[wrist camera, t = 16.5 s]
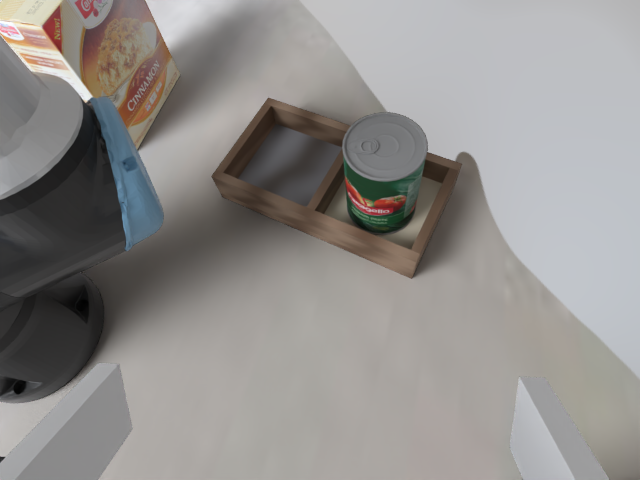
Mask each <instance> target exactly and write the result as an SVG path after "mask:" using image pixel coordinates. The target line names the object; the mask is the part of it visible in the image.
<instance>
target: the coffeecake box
mask: <svg viewBox="0 0 640 480" xmlns="http://www.w3.org/2000/svg"><path fill="white" fill-rule="evenodd" d="M0 34H1V35H2V36H3V38H4V39H5V40H6V41H7V42H8V43H9V45H10V46H11V47H12V48H13V49H14V51H15V52H16V53H17V54H18V55H19V56H20V58H21V59H22V60H23V61H24V62H25V63H26V65H27V66H28V67H29V68H30V69H31V71H32V72H40V73H47V74H51V75H55V76H57V77H60V78H62V79H64V80H65V81H67V82H68V83H69V84H70V85H71V86H72V87H73V88H74V89H75V90H76V91H77V92H78V94H79V95H80V97H81V98H82V99H83V100H84V102H85V103H86V102H87V101H88V100H89V99H90V98H92V97H95V98H99V97H107V98H109V99H110V100H111V101H112V103H113V104H114V105H115V107H116V108H117V110H118V112H119V114H120V116H121V118H122V120H123V122H124V124H125V126H126V128H127V130H128V132H129V134H130V136H131V138H132V140H133V143H134V145H135V147H136V149H138V148H139V146H140V144H141V142H142V141H143V139H144V137H145V135H146V134H147V132H148V130H149V128H150V127H151V125H152V123H153V121H154V120H155V118H156V116H157V114H158V113H159V111H160V109H161V108H162V106H163V104H164V102H165V101H166V99H167V97H168V95H169V94H170V92H171V90H172V88H173V87H174V85H175V83H176V81H177V80H178V78H179V76H180V73H179V71H178V69H177V67H176V65H175V63H174V60H173V58H172V56H171V54H170V52H169V50H168V48H167V46H166V44H165V42H164V40H163V37H162V35H161V33H160V31H159V29H158V27H157V25H156V23H155V20H154V18H153V16H152V14H151V12H150V10H149V8H148V6H147V3H146V1H145V0H2V1H1V2H0Z"/></svg>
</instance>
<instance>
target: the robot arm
mask: <svg viewBox="0 0 640 480" xmlns="http://www.w3.org/2000/svg"><path fill="white" fill-rule="evenodd" d="M163 219H164V215H163V209H162V206H161V204H160V201H159V199H158V196H157V194H156V191H155V189H154V187H153V184H152V182H151V180H150V177H149V175H148V173H147V171H146V168H145V166H144V164H143V162H142V160H141V157H140V155H139V153H138V151H137V149H136V147H135V145H134V143H133V140H132V138H131V136H130V134H129V132H128V130H127V128H126V126H125V124H124V122H123V120H122V118H121V116H120V114H119V112H118V110H117V108H116V107H115V105H114V104H113V103H112V101H111V100H110V99H109V98H107V97H99V98H95V97H92V98H90V99H89V100H88V101H87V102H86V103H85V102H84V100H83V99H82V98H81V97H80V95H79V94H78V92H77V91H76V90H75V89H74V88H73V87H72V86H71V85H70V84H69V83H68V82H67V81H65V80H64V79H62V78H60V77H57V76H55V75H51V74H47V73H40V72H31V71H30V70H29V69H28V68H27V67H26V65H25V64H24V63H23V62H22V61H21V60H20V58H19V57H18V56H17V55H16V54H15V52H14V51H13V50H12V49H11V48H10V47H9V45H8V44H7V43H6V42H5V41H4V39H3V38H2V37H1V36H0V402H6V403H24V402H30V401H34V400H37V399H40V398H42V397H45V396H47V395H49V394H51V393H53V392H55V391H56V390H58V389H59V388H61V387H62V386H64V385H65V384H66V383H67V382H69V381H70V380H71V379H72V378H73V377H74V376H75V375H76V374H77V373H78V372H79V371H80V370H81V369H82V368H83V366H84V365H85V364H86V362H87V361H88V359H89V358H90V356H91V355H92V353H93V351H94V349H95V347H96V345H97V343H98V340H99V338H100V334H101V331H102V326H103V318H104V311H103V303H102V299H101V296H100V293H99V291H98V289H97V288H96V286H95V285H94V283H93V282H92V281H91V280H90V279H89V278H88V277H86V276H85V275H83V274H82V273H80V272H82V271H84V270H86V269H88V268H90V267H92V266H95V265H97V264H99V263H101V262H103V261H105V260H107V259H109V258H111V257H114V256H116V255H118V254H120V253H122V252H124V251H128V250H130V249H131V248H132V246H133V245H135V244H137V243H138V242H140V241H142V240H144V239H145V238H147V237H149V236H151V235H152V234H154V233H156V232H157V231H158V230H159V228H160V227H161V225H162V223H163ZM132 429H133V428H132V423H131V418H130V414H129V409H128V404H127V399H126V394H125V390H124V385H123V380H122V375H121V370H120V366H119V364H113V363H97V364H96V365H95V367H94V368H93V369H92V370H91V371H90V372H89V373H88V374H87V375H86V376H85V377H84V378H83V379H82V380H81V381H80V382H79V383H78V384H77V385H76V386H75V387H74V388H73V389H72V390H71V391H70V392H69V393H68V394H67V395H66V396H65V397H64V398H63V399H62V400H61V401H60V402H59V403H58V404H57V405H56V406H55V407H54V408H53V409H52V410H51V411H50V412H49V413H48V414H47V416H46V417H45V418H44V419H43V420H42V421H41V422H40V423H39V424H38V425H37V426H36V427H35V428H34V429H33V430H32V431H31V432H30V433H29V434H28V435H27V436H26V437H25V438H24V439H23V440H22V441H21V442H20V443H19V444H18V445H17V446H16V447H15V448H14V449H13V450H12V451H11V452H10V453H9V454H8V455H7V456H6V457H0V480H98V479H99V477H100V476H101V474H102V473H103V472H104V470H105V469H106V467H107V466H108V464H109V463H110V461H111V460H112V458H113V457H114V455H115V454H116V453H117V451H118V450H119V448H120V447H121V445H122V444H123V442H124V441H125V439H126V438H127V437H128V435H129V434H130V432H131V431H132ZM510 449H511V451H512V454H513V456H514V459H515V461H516V464H517V466H518V469H519V471H520V474H521V476H522V478H523V480H610V479H609V478H608V476H607V475H606V473H605V472H604V470H603V468H602V467H601V465H600V464H599V462H598V460H597V459H596V457H595V456H594V454H593V453H592V451H591V449H590V448H589V446H588V445H587V443H586V441H585V440H584V438H583V437H582V435H581V433H580V432H579V430H578V429H577V427H576V426H575V424H574V422H573V421H572V419H571V418H570V416H569V414H568V413H567V411H566V410H565V408H564V407H563V405H562V403H561V402H560V400H559V399H558V397H557V395H556V394H555V392H554V391H553V389H552V388H551V386H550V384H549V383H548V381H547V380H546V378H545V377H519V383H518V390H517V397H516V405H515V412H514V419H513V426H512V434H511V441H510Z"/></svg>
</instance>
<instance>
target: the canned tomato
mask: <svg viewBox="0 0 640 480" xmlns="http://www.w3.org/2000/svg"><path fill="white" fill-rule="evenodd" d="M427 144H428V143H427V139H426V135H425V133H424V132H423V130H422V129H421V128H420V126H419V125H418V124H417V123H415V122H414V121H413V120H411V119H409V118H407V117H406V116H403V115H400V114H396V113H390V112H381V113H374V114H371V115H367V116H365V117H363V118H361V119H359V120H357V121H356V122H355V123H353V124H352V125H351V127H350V128H349V129H348V130H347V132H346V134H345V136H344V139H343V144H342V150H343V160H344V171H345V172H344V174H345V187H346V200H347V212H348V214H349V217H350V219H351V220H352V222H353V223H354V224H355V225H356V226H357V227H358V228H360V229H361V230H363V231H366V232H368V233H371V234H374V235H389V234H393V233H396V232H398V231H400V230H402V229H403V228H405V227H406V226H407V225H408V224H409V223H410V221H411V220H412V218H413V216H414V214H415V210H416V203H417V198H418V193H419V188H420V183H421V178H422V173H423V168H424V164H425V158H426V155H427V151H428V145H427Z"/></svg>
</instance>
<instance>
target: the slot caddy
mask: <svg viewBox="0 0 640 480" xmlns="http://www.w3.org/2000/svg"><path fill="white" fill-rule="evenodd" d="M350 127H351V126H350V125H347V124H344V123H341V122H338V121H335V120H332V119H329V118H326V117H323V116H320V115H318V114H315V113H312V112H309V111H306V110H303V109H300V108H297V107H294V106H291V105H288V104H285V103H282V102H280V101H277V100H274V99H271V98H268V99H267V100H266V102H265V103H264V104H263V106H262V107H261V109H260V110H259V111H258V113H257V114H256V115H255V117H254V118H253V120H252V121H251V122H250V124H249V125H248V127H247V128H246V129H245V131H244V132H243V133H242V135H241V136H240V138H239V139H238V140H237V142H236V143H235V144H234V146H233V147H232V149H231V150H230V151H229V153H228V154H227V155H226V157H225V158H224V160H223V161H222V162H221V164H220V165H219V167H218V168H217V169H216V171H215V172H214V173H213V175H212V176H211V177H212V178H213V180H214V182H215V184H216V186H217V188H218V189H219V191H220V193H221V195H222V197H224V198H226V199H228V200H231V201H233V202H235V203H238V204H240V205H242V206H245V207H247V208H249V209H251V210H254V211H256V212H258V213H261V214H263V215H265V216H268V217H270V218H272V219H275V220H277V221H279V222H282V223H284V224H286V225H289V226H291V227H293V228H296V229H298V230H300V231H302V232H305V233H307V234H309V235H312V236H314V237H316V238H319V239H321V240H323V241H326V242H328V243H330V244H333V245H335V246H337V247H340V248H342V249H344V250H347V251H349V252H351V253H353V254H356V255H358V256H360V257H363V258H365V259H367V260H370V261H372V262H374V263H377V264H379V265H381V266H384V267H386V268H388V269H391V270H393V271H395V272H398V273H400V274H402V275H404V276H407V277H409V278H411V279H412V277H413V275H414V273H415V271H416V269H417V266H418V264H419V262H420V260H421V258H422V256H423V253H424V251H425V249H426V247H427V245H428V243H429V240H430V238H431V236H432V234H433V232H434V229H435V227H436V225H437V223H438V221H439V219H440V216H441V214H442V212H443V210H444V208H445V205H446V203H447V201H448V199H449V197H450V195H451V192H452V190H453V188H454V186H455V183H456V180H457V177H458V174H459V171H460V168H461V165H462V164H461V163H458V162H455V161H452V160H449V159H446V158H443V157H440V156H437V155H434V154H431V153H428V152H427V155H426V158H425V164H424V168H423V173H422V178H421V183H420V188H419V193H418V198H417V203H416V210H415V214H414V216H413V218H412V220H411V221H410V223H409V224H408V225H407V226H406V227H405V228H403V229H402V230H400V231H398V232H396V233H393V234H389V235H374V234H371V233H368V232H366V231H363V230H361V229H360V228H358V227H357V226H356V225H355V224H354V223H353V222H352V220H351V219H350V217H349V214H348V212H347V200H346V187H345V174H344V172H345V171H344V160H343V150H342V144H343V139H344V136H345V134H346V132H347V130H348V129H349V128H350Z"/></svg>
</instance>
